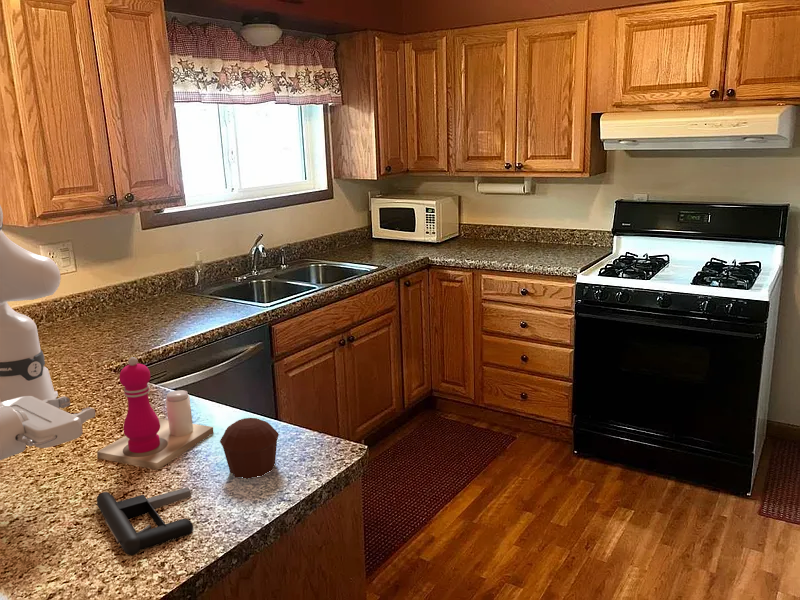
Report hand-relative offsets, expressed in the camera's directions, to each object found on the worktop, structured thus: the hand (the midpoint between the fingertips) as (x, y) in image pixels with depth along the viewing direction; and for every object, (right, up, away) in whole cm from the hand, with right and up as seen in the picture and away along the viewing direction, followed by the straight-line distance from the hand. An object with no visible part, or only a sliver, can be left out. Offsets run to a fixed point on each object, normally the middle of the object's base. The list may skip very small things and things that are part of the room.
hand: (80, 405), depth 128 cm
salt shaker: (+13, -9, +19) cm, 25 cm away
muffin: (+32, -13, +5) cm, 35 cm away
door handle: (+18, -18, -11) cm, 28 cm away
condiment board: (+9, -11, +17) cm, 22 cm away
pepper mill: (+8, -11, +13) cm, 18 cm away
